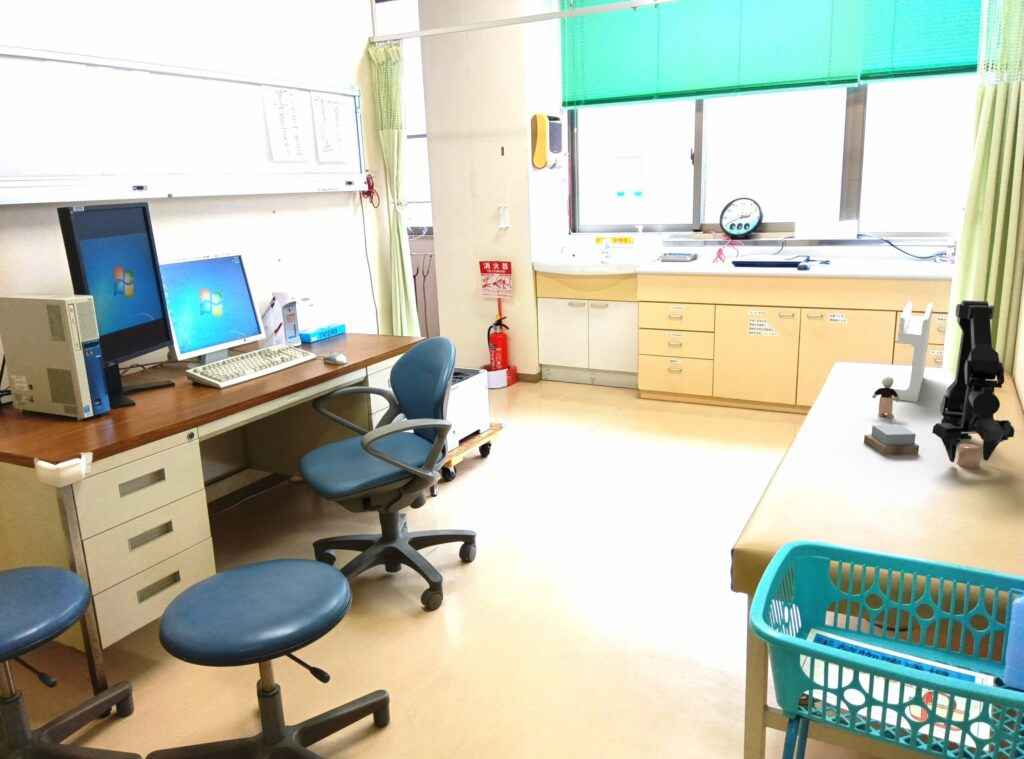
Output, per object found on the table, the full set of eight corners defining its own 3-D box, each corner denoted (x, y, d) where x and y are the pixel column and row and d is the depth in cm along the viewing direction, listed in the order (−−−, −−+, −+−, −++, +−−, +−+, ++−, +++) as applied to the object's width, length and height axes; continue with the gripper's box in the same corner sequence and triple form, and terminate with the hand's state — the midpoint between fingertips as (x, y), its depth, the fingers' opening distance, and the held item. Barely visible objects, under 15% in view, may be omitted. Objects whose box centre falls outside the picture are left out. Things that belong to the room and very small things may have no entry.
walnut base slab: (897, 443, 216) (898, 433, 216) (917, 455, 207) (919, 445, 206) (863, 444, 216) (864, 434, 215) (882, 457, 206) (883, 447, 205)
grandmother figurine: (896, 414, 240) (901, 376, 236) (897, 418, 236) (902, 379, 233) (869, 412, 242) (874, 374, 239) (870, 416, 239) (875, 377, 235)
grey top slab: (899, 434, 215) (900, 424, 214) (914, 444, 207) (915, 434, 206) (871, 435, 214) (872, 425, 214) (885, 445, 207) (886, 434, 206)
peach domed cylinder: (970, 461, 201) (973, 443, 200) (983, 468, 196) (986, 450, 195) (952, 461, 201) (955, 444, 200) (965, 468, 196) (967, 450, 195)
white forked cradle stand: (916, 401, 253) (927, 319, 245) (890, 398, 257) (900, 317, 249) (923, 377, 282) (933, 303, 274) (899, 374, 286) (908, 301, 278)
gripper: (963, 415, 186) (954, 474, 190) (1035, 412, 187) (1024, 471, 191) (935, 402, 197) (927, 458, 201) (1003, 399, 198) (994, 455, 202)
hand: (968, 461), depth 198 cm, fingers open, 9 cm apart
